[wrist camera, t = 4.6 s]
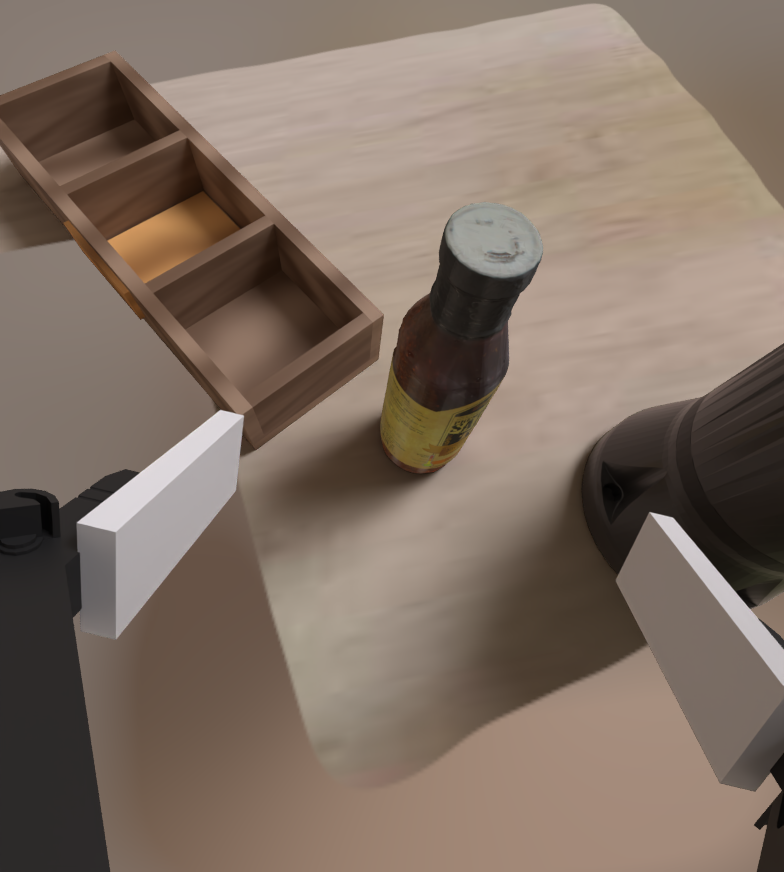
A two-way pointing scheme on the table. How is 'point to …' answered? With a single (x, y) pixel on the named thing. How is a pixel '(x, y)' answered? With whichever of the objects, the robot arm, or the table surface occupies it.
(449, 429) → the sauce bottle
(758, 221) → the table surface
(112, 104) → the wooden compartment tray
